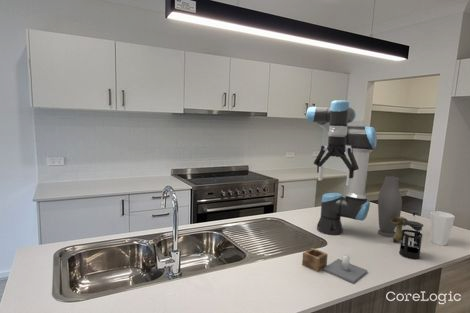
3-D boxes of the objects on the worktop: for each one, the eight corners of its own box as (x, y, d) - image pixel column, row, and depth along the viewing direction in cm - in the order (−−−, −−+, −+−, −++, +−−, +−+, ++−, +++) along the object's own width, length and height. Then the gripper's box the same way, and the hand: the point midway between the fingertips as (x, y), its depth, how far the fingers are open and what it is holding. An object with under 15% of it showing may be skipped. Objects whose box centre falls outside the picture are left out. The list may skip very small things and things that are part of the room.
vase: (393, 239, 167) (399, 180, 163) (370, 233, 177) (376, 176, 173) (401, 234, 176) (408, 178, 172) (379, 228, 186) (385, 174, 182)
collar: (302, 264, 135) (302, 252, 134) (311, 259, 141) (312, 247, 140) (317, 271, 129) (318, 259, 129) (326, 265, 135) (327, 253, 134)
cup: (452, 243, 165) (456, 214, 162) (449, 249, 157) (453, 218, 155) (429, 237, 172) (432, 209, 170) (425, 242, 165) (428, 213, 163)
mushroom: (405, 247, 158) (408, 220, 156) (387, 243, 162) (390, 217, 160) (406, 241, 166) (408, 216, 164) (389, 237, 170) (391, 213, 168)
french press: (413, 261, 142) (418, 216, 139) (394, 253, 150) (398, 210, 147) (425, 256, 148) (431, 212, 145) (407, 249, 156) (411, 207, 153)
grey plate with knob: (322, 270, 131) (323, 255, 130) (338, 260, 140) (339, 247, 139) (353, 283, 121) (354, 267, 120) (367, 272, 130) (368, 257, 129)
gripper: (308, 134, 135) (305, 179, 138) (362, 137, 118) (357, 188, 120) (316, 134, 140) (313, 177, 143) (369, 137, 123) (365, 186, 125)
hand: (333, 182), depth 132 cm, fingers open, 13 cm apart
